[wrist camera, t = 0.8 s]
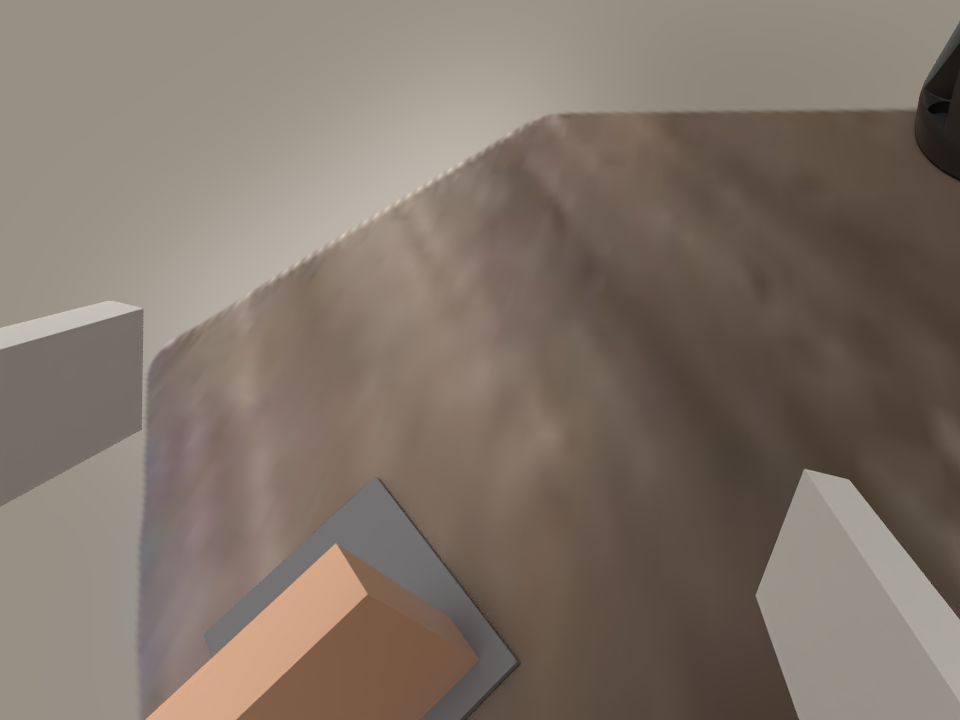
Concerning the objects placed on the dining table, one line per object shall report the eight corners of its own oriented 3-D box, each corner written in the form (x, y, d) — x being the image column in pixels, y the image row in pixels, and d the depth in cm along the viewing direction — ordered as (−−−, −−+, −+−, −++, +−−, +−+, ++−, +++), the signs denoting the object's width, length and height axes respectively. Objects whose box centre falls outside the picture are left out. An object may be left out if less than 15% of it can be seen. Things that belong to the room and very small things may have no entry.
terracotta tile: (446, 613, 36) (332, 538, 27) (479, 659, 34) (367, 594, 25) (283, 773, 34) (106, 748, 26) (307, 832, 32) (122, 827, 23)
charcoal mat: (379, 479, 44) (375, 476, 44) (520, 663, 34) (517, 661, 33) (208, 636, 42) (203, 634, 42) (302, 885, 31) (296, 886, 31)
